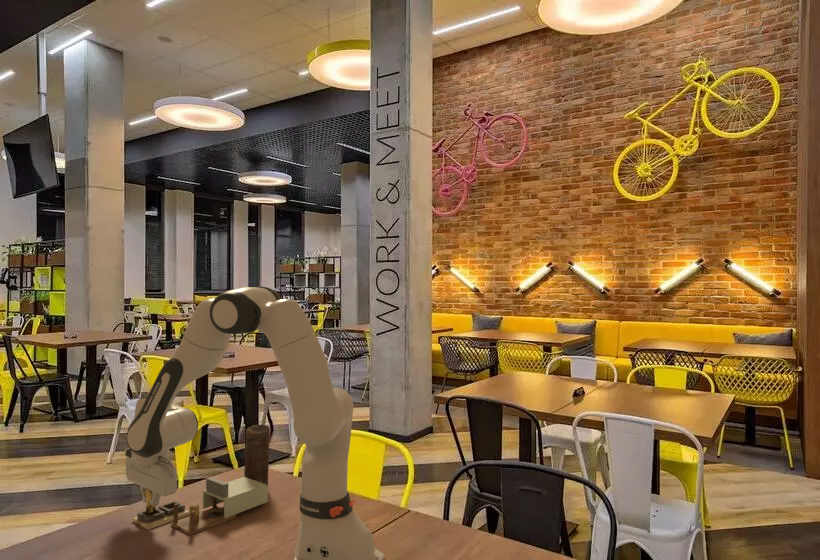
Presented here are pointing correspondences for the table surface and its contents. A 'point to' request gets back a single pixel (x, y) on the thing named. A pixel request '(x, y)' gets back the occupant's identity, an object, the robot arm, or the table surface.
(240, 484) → the lid
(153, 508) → the pin
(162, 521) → the tan socket tray
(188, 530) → the base
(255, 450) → the brown wooden log
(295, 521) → the table surface
